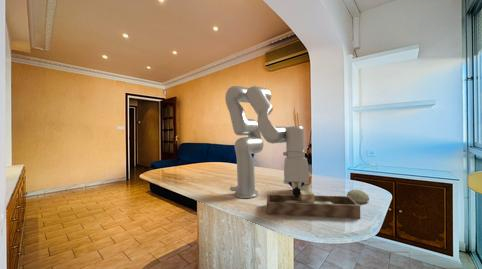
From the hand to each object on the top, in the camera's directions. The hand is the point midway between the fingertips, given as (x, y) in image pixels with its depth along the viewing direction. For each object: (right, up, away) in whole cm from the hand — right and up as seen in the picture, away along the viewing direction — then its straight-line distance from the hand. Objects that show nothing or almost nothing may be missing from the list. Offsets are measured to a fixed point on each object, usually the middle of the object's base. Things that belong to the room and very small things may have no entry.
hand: (296, 196), depth 86 cm
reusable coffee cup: (+10, -5, +26) cm, 28 cm away
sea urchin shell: (+32, -5, +10) cm, 34 cm away
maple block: (+4, -3, -1) cm, 5 cm away
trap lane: (+5, -6, -1) cm, 8 cm away
